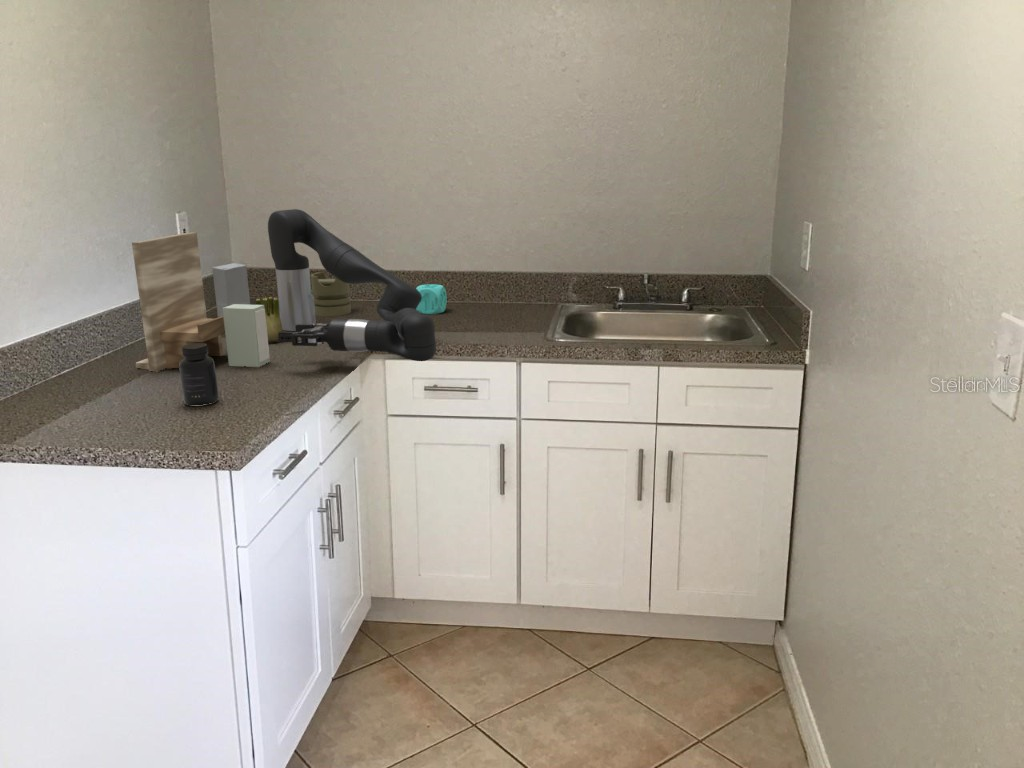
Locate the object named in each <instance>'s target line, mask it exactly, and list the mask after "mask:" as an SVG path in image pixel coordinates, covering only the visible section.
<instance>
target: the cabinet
mask: <svg viewBox="0 0 1024 768" xmlns="http://www.w3.org/2000/svg"><path fill="white" fill-rule="evenodd" d="M223 317H224V326H225V341H226V343H225V344H226V350H227V351H226V353H227V359H228V360H227V361H228V366H229V367H244V366H246V367H248V368H249V367H250V368H261V367H263V366H265V365H267V364H268V362H269V363H270V362H271V361H270V360H271V359H270V349H269V343H268V336H267V326H266V316H265V308H264V305H263V304H261V305H256V304H250V305H247V304H233V305H230V306H227V307H224V308H223ZM266 363H267V364H266ZM262 365H263V366H262ZM260 366H261V367H260Z"/></svg>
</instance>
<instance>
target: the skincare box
mask: <svg viewBox="0 0 1024 768" xmlns="http://www.w3.org/2000/svg"><path fill="white" fill-rule="evenodd" d="M211 269H212V277H213V286H214V294H215V296H214V297H215V303H216V304H215V305H216V311H217V318H218V317H221V316H223V308H224V307H227V306H230V305H233V304H247V305H251V299H250V290H249V289H250V288H249V280H248V278H249V277H248V269H247V265H246V264H240V263H236V262H232V263H229V264H228V263H227V264H222V265H219V266H212V268H211Z"/></svg>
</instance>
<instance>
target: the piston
mask: <svg viewBox="0 0 1024 768" xmlns="http://www.w3.org/2000/svg"><path fill="white" fill-rule="evenodd" d="M310 281H311V293H312V294H313V296H314V308H315V316H318V315H319V317H337V316H344V315H345V316H346V315H349V314H351V313H352V305H351V304H352V303H351V296H350V294H349V293H350V291H351V290H350V289H351V288H350V284H349V283H344V282H342V281H340V280H339V279H338V278H336V277H335V278H328V277H327V276H326V274H325V272H324V271H322V272H317V273H312V274H310Z"/></svg>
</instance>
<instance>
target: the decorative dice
mask: <svg viewBox="0 0 1024 768" xmlns="http://www.w3.org/2000/svg"><path fill="white" fill-rule="evenodd" d="M415 288H416V289H417V290H418V291H419V292H420V294H421V296H422V298H421V301H420V303H419V305H418V306H417V308H416V310H417V311H419V312H420V313H421V314H422V315H437V314H439V315H440V314H443V313H444V312H445V311H446V308H447V301H448V300H447V297H448V296H447V291H446V288H445V287H444V286H443V285H442V284H435V283H434V284H433V283H430V284H420V285H417V287H415Z"/></svg>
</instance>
